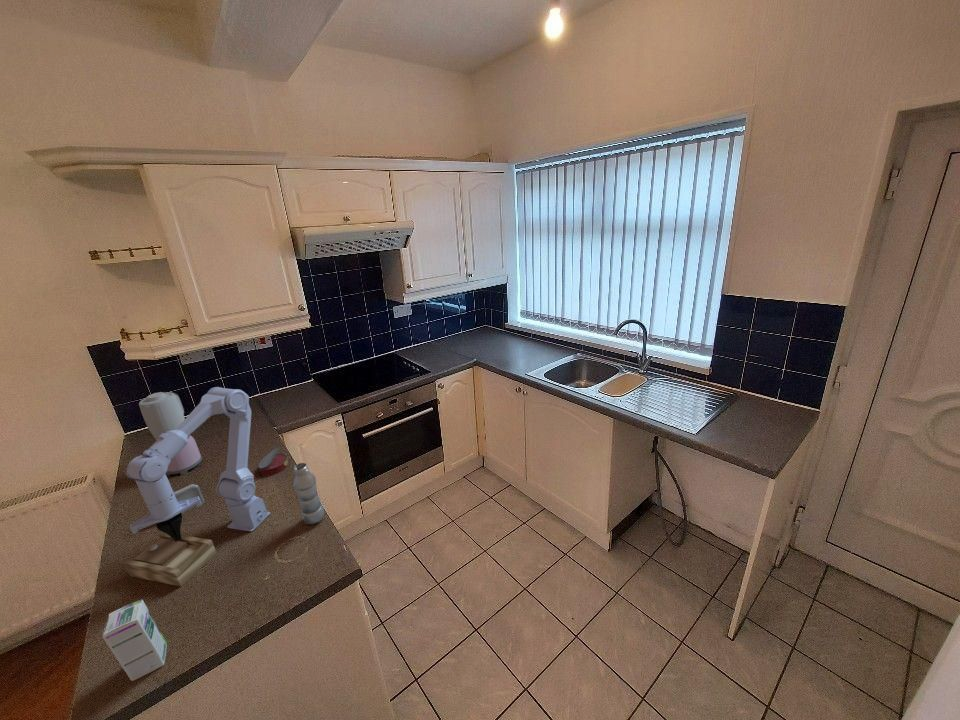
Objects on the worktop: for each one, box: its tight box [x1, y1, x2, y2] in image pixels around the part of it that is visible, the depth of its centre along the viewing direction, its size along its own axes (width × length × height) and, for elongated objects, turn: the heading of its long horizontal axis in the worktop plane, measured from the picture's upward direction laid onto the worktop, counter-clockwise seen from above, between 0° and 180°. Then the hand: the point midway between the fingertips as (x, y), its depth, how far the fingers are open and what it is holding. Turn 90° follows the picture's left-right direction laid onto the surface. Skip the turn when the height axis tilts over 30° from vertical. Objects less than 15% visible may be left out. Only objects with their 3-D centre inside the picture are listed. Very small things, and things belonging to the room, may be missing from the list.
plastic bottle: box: [292, 462, 325, 525], centre depth 118 cm, size 6×7×20 cm
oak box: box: [123, 531, 218, 587], centre depth 108 cm, size 18×11×5 cm, turn 76°
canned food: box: [258, 446, 289, 477], centre depth 148 cm, size 11×10×10 cm
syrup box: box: [102, 599, 168, 682], centre depth 81 cm, size 6×6×14 cm
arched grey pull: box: [173, 483, 206, 514], centre depth 128 cm, size 2×12×8 cm, turn 141°
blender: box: [138, 391, 203, 477], centre depth 150 cm, size 16×12×32 cm
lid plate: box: [133, 537, 189, 567], centre depth 108 cm, size 10×7×2 cm
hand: (178, 538), depth 104 cm, fingers closed
